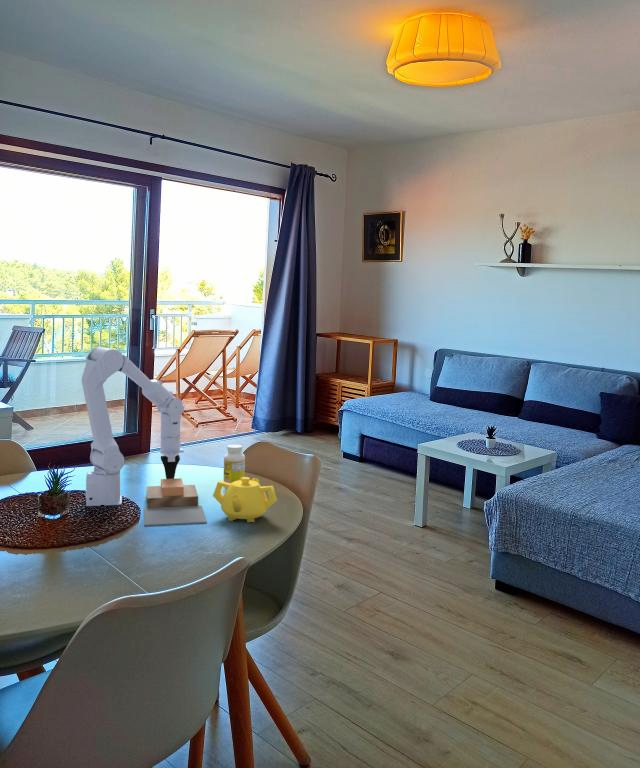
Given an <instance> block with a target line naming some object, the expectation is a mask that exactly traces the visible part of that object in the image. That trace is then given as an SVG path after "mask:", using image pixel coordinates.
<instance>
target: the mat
mask: <svg viewBox="0 0 640 768" xmlns="http://www.w3.org/2000/svg"><path fill="white" fill-rule="evenodd" d="M143 520H144V521H143V522H144V523H143V524H144V527H153V526H154V527H155V526H174V525H194V524H195V525H197V524H207V523H208V521H207V518H206V515H205V511H204V508H203V506H202V505H198V506H182V507H158V508H147V507H144V508H143Z"/></svg>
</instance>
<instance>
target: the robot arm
mask: <svg viewBox="0 0 640 768" xmlns="http://www.w3.org/2000/svg"><path fill="white" fill-rule="evenodd" d="M85 362H86V363H85V365H84V370H83V373H82V376H81V387H82V390H83V395H84V399H85V400H84V401H85V405H86V409H87V413H88V419H89V424H90V425H89V426H90V430H91V434H92V438H93V439H92V440H93V441H92V442H91V443H90V448H91V451H90V456H89V460H90V463H91V464H92V466H94V468H93V471H89V472H86V477H85V495H84V496H85V499H86V500H85V501H86V502H85V507H100V506H101V505H104V506H121V505H122V501H123V500H122V499H123V495H121V470H122V469H123V467H124V464H125V457H124V454H123V453H122V452H121V451H120V448H119V447H120V446H119V445H118V444H117V442H116V440H115V438H114V436H113V435H114V433H113V429H112V424H111V421H110V420H111V419H110V415H109V411H108V404H107V400H106V395H105V390H104V384H105V382H106V381H107V380H108V378H110V377H111V376H112V375H114V374H115V373H117V372H119V373H123V374H124V375H126V377H128V378H129V379H130V380H131V381H132V382H134V383H135V384H136V385H137V386H139V387H140V388H141V393H142V396H144V397H145V398H146V399H147V400H149V401H150V402H151V403H152V404H154V405H155V407H157V408H156V409H157V411H158V412H159V413H160V449H159V453H160V454H161V456H160V460H161V462H162V465H163V467H164V473H165V475H164V476H165V479H175V476H176V470H177V467H178V464H179V462H180V460H181V458H180V455H179V454H181V453H185V450H184V448H181V419H182V414H183V413H184V411H185V405H184V403H183V400H182V399H180V398H179V397H175V396H174V392H173V391H171V390H168V389H167V388H166V387H165V386H164V385H163V384H164V383H163V382H162V380H157V379H149V377H148V376H147V375H146V374H145V373H143V372H142V370H141V369H139V367H138V366H136V364H135V363H134V362H133V361H131V360H130V358H129V357H128V356H127V355H124V354H122V352H121V351H120V350H119V349H116V348H108V347H107V348H106V347H105V346H104V347H103V346H96V347H94V348H93V349H91V350H90V351H89V353H88V354H87V355H86V357H85ZM101 507H102V506H101Z"/></svg>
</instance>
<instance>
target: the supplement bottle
mask: <svg viewBox="0 0 640 768" xmlns="http://www.w3.org/2000/svg"><path fill="white" fill-rule="evenodd" d="M226 449H227V453H225V454H224V457H223V482H227V483H232V482H234V481H238V480H241V478H242V477H246V475H245V474H246V473H245V472H246V471H245V470H246V456H245V454H244V453H243V445H241V444H228V445H227V447H226Z"/></svg>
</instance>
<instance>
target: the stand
mask: <svg viewBox="0 0 640 768" xmlns="http://www.w3.org/2000/svg"><path fill="white" fill-rule="evenodd" d="M183 486H184V495H181V496H162V493H161V485H150V486H149V485H148V486H146V508H158V507H182V506H199V494H198V491H197V488H196V485H195V484H183Z"/></svg>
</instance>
